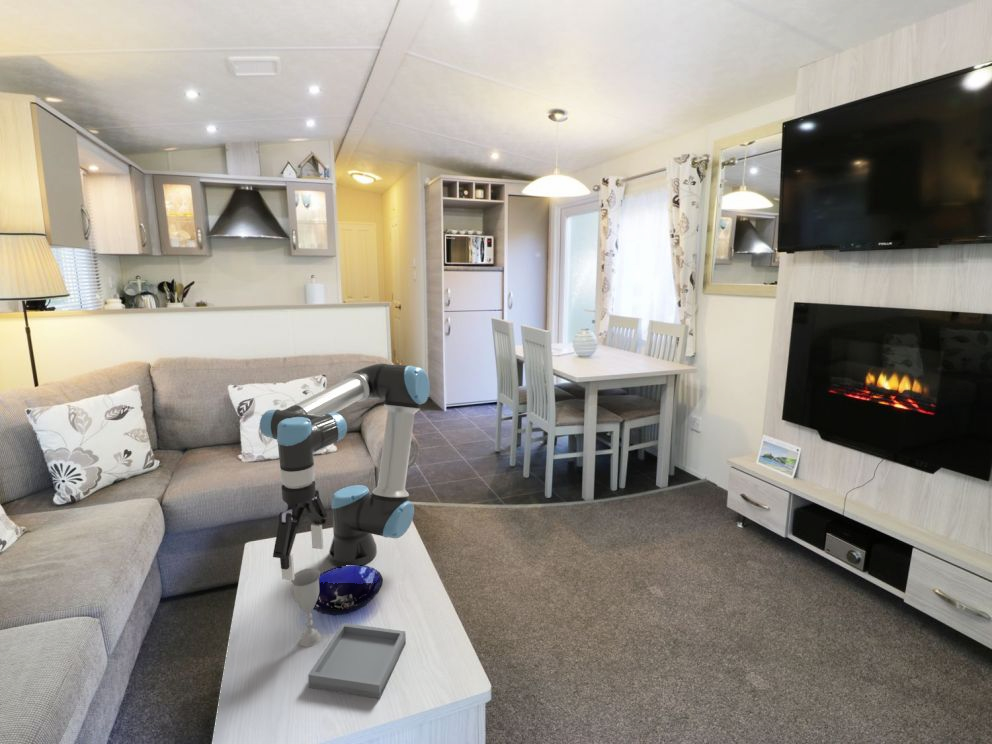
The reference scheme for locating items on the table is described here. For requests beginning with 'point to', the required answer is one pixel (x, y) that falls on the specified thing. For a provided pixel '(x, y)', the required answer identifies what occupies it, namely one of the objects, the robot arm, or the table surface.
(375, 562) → the table surface
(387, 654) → the tray
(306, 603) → the chalice
